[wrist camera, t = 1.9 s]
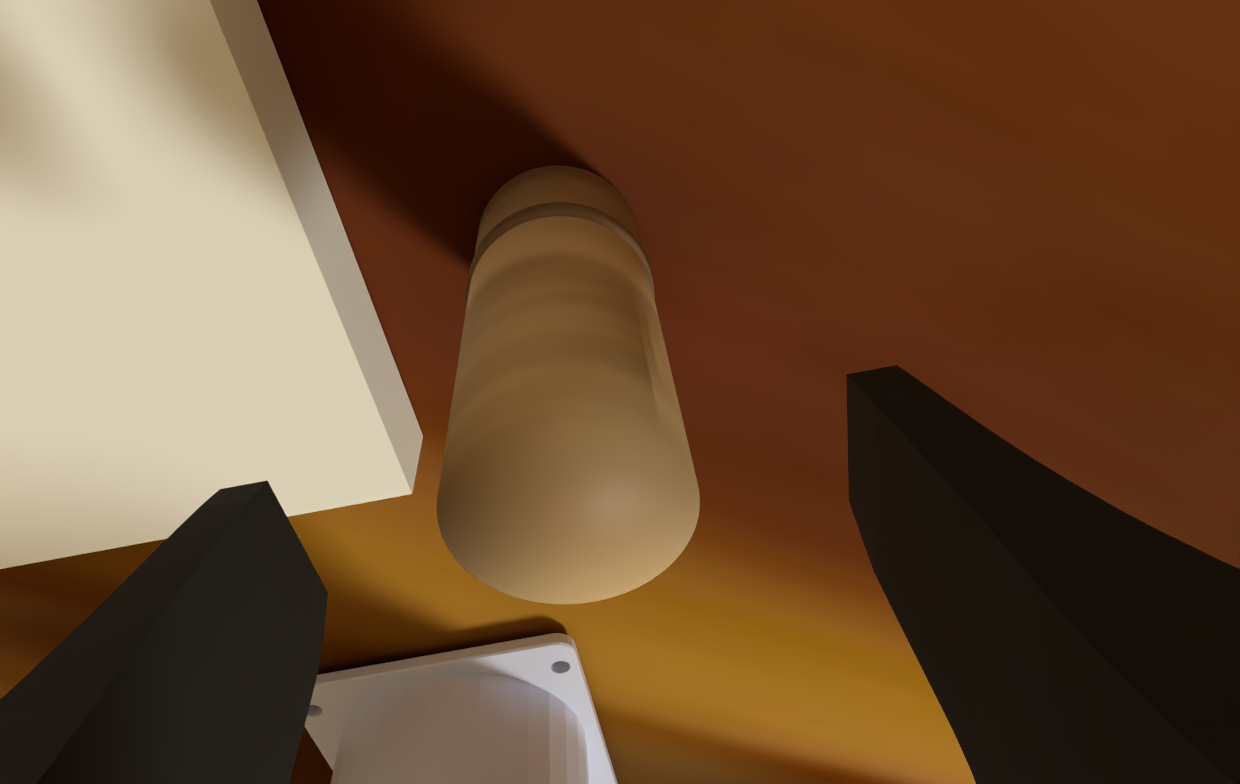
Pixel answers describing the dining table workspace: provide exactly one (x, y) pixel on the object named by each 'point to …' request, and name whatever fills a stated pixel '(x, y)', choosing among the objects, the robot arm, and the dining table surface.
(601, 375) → the peg
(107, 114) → the board
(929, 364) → the dining table surface
